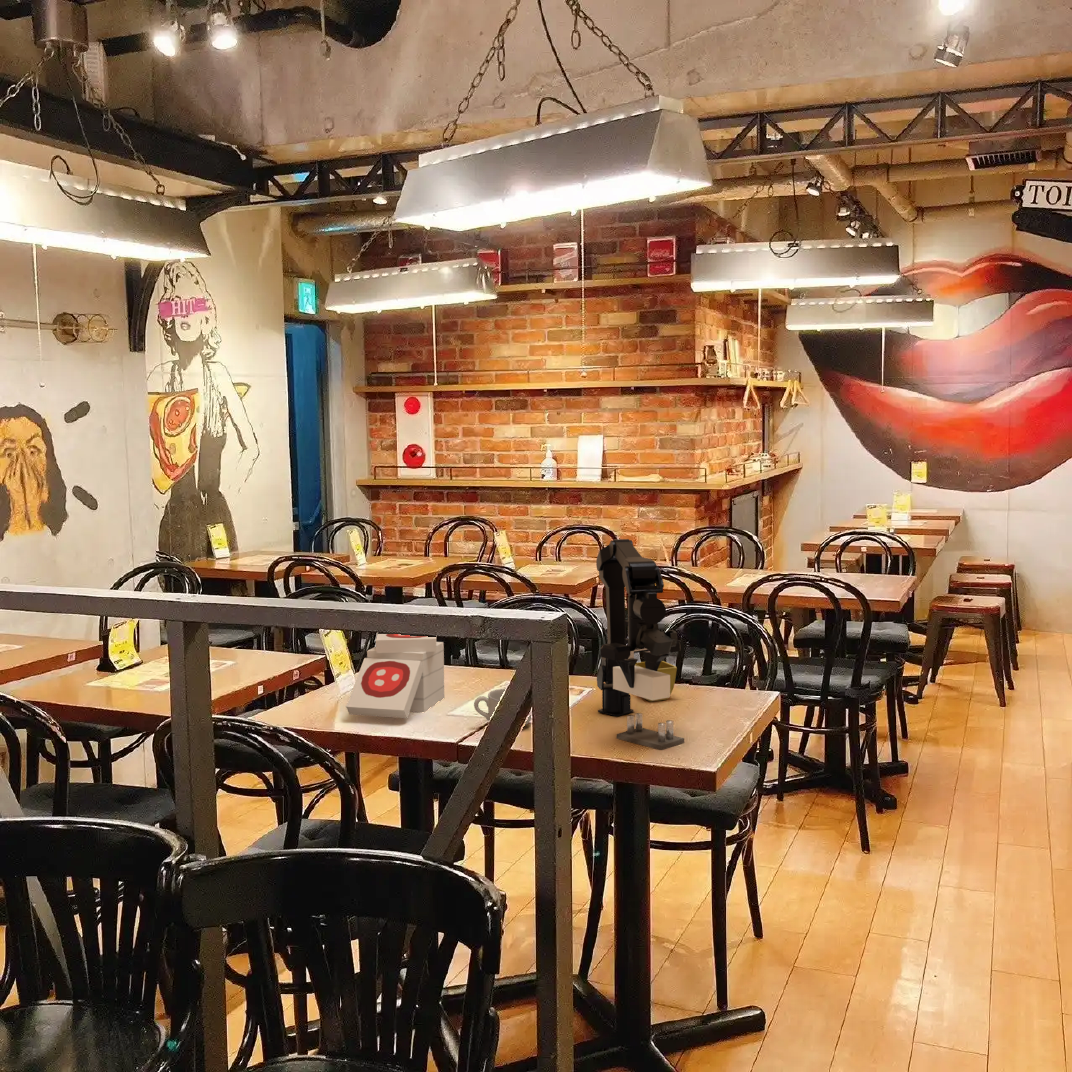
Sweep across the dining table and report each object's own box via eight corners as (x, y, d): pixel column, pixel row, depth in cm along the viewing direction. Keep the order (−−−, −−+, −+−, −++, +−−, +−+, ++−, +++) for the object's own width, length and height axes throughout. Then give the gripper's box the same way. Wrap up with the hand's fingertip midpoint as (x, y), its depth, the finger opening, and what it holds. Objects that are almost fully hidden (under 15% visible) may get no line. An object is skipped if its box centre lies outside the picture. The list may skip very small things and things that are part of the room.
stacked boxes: (339, 722, 270) (337, 647, 269) (387, 693, 299) (386, 625, 297) (413, 727, 265) (412, 651, 264) (455, 697, 294) (454, 628, 292)
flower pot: (677, 701, 288) (677, 666, 287) (647, 704, 285) (647, 669, 284) (661, 693, 296) (661, 660, 295) (631, 697, 293) (631, 662, 292)
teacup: (533, 720, 271) (532, 687, 270) (534, 732, 260) (534, 698, 259) (474, 721, 270) (474, 688, 269) (473, 733, 259) (473, 699, 258)
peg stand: (616, 738, 254) (616, 716, 254) (639, 731, 260) (639, 710, 259) (661, 750, 245) (661, 727, 244) (684, 742, 250) (684, 720, 250)
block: (670, 697, 248) (670, 674, 247) (652, 700, 245) (652, 677, 245) (630, 685, 259) (630, 664, 259) (613, 688, 257) (613, 667, 256)
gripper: (630, 626, 239) (630, 698, 240) (696, 617, 249) (696, 687, 251) (599, 619, 248) (599, 689, 249) (664, 611, 258) (664, 678, 260)
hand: (641, 686), depth 252 cm, fingers closed on block, 5 cm apart
